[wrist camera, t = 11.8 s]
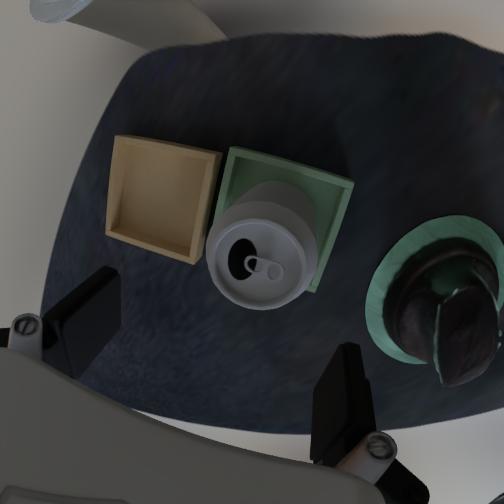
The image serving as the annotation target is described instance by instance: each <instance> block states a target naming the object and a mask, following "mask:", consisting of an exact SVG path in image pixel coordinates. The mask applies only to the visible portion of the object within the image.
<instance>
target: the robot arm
mask: <svg viewBox="0 0 504 504" xmlns="http://www.w3.org/2000/svg"><path fill="white" fill-rule="evenodd" d="M39 1H40V2H41V3H44V4H53V3H56V2H58V1H60V0H39ZM120 326H121V278H120V275H119V274H118V271H117V270H116V269H114V268H111V267H108V266H103V267H102V268H100V269H99V270H98V271H97V272H95V273H94V274H93V275H91V276H90V277H89V278H88V279H86V280H85V281H84V282H83V283H81V284H80V285H79V286H78V287H76V288H75V289H74V290H73V291H71V292H70V293H69V294H68V295H67V296H65V297H64V298H63V299H62V300H61V301H59V302H58V303H57V304H56V305H55V306H53V307H52V308H51V309H50V310H49V311H48V312H46V313H45V314H44V317H43V318H42V319H41V318H40V317H39V316H37V315H35V314H31V313H26V314H22V315H19V316H18V317H16V318H15V319H14V320H13V322H12V324H11V328H0V504H428V502H429V497H430V495H429V490H428V488H427V486H426V485H425V484H424V483H423V482H422V481H420V480H419V479H418V478H417V477H416V476H415V475H413V474H412V473H411V472H410V471H409V470H408V469H407V468H406V467H405V466H403V465H402V464H401V463H400V462H399V461H398V460H397V459H396V458H395V457H396V455H397V445H396V443H395V441H394V439H392V437H391V436H389V435H388V434H386V433H384V432H381V431H376V423H375V415H374V408H373V401H372V394H371V387H370V382H369V380H368V379H367V378H365V373H364V367H363V361H362V355H361V349H360V345H359V344H355V343H350V342H345V343H344V344H340V345H339V346H338V348H337V350H336V351H335V353H334V355H333V357H332V359H331V360H330V362H329V364H328V365H327V367H326V369H325V371H324V372H323V374H322V376H321V377H320V379H319V381H318V382H317V384H316V386H315V388H314V392H313V410H312V430H311V446H310V460H313V464H312V463H307V462H302V461H296V460H291V459H286V458H281V457H276V456H272V455H267V454H263V453H259V452H255V451H251V450H247V449H242V448H239V447H235V446H231V445H228V444H225V443H221V442H218V441H214V440H211V439H208V438H205V437H202V436H199V435H195V434H193V433H190V432H187V431H184V430H182V429H179V428H176V427H173V426H171V425H168V424H166V423H163V422H161V421H158V420H156V419H153V418H151V417H149V416H146V415H144V414H142V413H139V412H137V411H135V410H133V409H130V408H128V407H126V406H124V405H122V404H120V403H118V402H115V401H113V400H111V399H109V398H107V397H105V396H103V395H101V394H99V393H98V392H96V391H94V390H92V389H90V388H88V387H86V386H85V385H83V384H81V383H79V382H77V381H76V380H74V379H75V378H76V379H78V378H79V377H80V376H81V375H82V374H83V372H84V371H85V370H86V369H87V368H88V366H89V365H90V364H91V363H92V361H93V360H94V359H95V358H96V357H97V355H98V354H99V353H100V352H101V350H102V349H103V348H104V347H105V346H106V344H107V343H108V342H109V341H110V340H111V339H112V337H113V336H114V335H115V334H116V333H117V331H118V330H119V329H120Z"/></svg>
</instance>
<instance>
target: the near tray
mask: <svg viewBox="0 0 504 504" xmlns="http://www.w3.org/2000/svg"><path fill="white" fill-rule="evenodd" d="M270 180H277V181H286V182H288V183H291V184H293V185H296V186H297V187H298V188H300V189H301V190H302V191H303V192H304V193H306V194H307V196H308V198H309V199H310V201H311V202H312V204H313V207H314V211H315V216H316V226H317V240H318V262H317V270H316V273H315V275H314V277H313V279H312V281H311V283H310V285H309V286H308V287H307V288H306V289H305V290H307V291H310V292H313V293H315V292H316V289H317V286H318V284H319V281H320V279H321V276H322V274H323V271H324V269H325V266H326V263H327V261H328V258H329V255H330V253H331V250H332V247H333V245H334V242H335V239H336V236H337V234H338V231H339V228H340V225H341V222H342V219H343V216H344V214H345V211H346V208H347V205H348V202H349V199H350V196H351V193H352V189H353V186H354V182H353V181H352V180H351V179H349V178H346V177H343V176H340V175H337V174H334V173H331V172H328V171H325V170H321V169H318V168H315V167H312V166H309V165H305V164H302V163H298V162H295V161H292V160H288V159H285V158H281V157H277V156H274V155H270V154H266V153H262V152H259V151H255V150H251V149H247V148H243V147H238V146H234V147H230V149H229V154H228V157H227V162H226V166H225V170H224V175H223V179H222V184H221V188H220V193H219V197H218V202H217V207H216V211H215V216H214V221H213V225H214V223H215V222H216V221H217V219H218V218H219V217H220V215H221V214H222V213H224V212H225V211H226V210H227V209H228V208H229V207H230V206H231V205H233V204H234V203H235V202H236V201H237V200H238V199H239V198H240V197H242V196H243V195H244V194H245V193H246V192H247V191H249V190H250V189H251V188H253V187H254V186H256V185H258V184H259V183H262V182H266V181H270Z"/></svg>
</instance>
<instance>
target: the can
mask: <svg viewBox="0 0 504 504" xmlns="http://www.w3.org/2000/svg"><path fill="white" fill-rule="evenodd" d="M206 260H207V263H208V269H209V272H210V274H211V277H212V280H213V282H214V284H215V285H216V286H217V288H218V289H219V290H220V292H221V293H222V294H223V295H224V296H226V297H227V298H228V299H230V300H231V301H232V302H233V303H236V304H238V305H241V306H243V307H245V308H249V309H257V310H267V309H274V308H278V307H280V306H282V305H284V304H286V303H288V302H290V301H291V300H292V299H294V298H297V297H298V296H299V295H300V294H301V293H302V292H303V291H304V290H305V289H306V288H307V287H308V286H309V285H310V283H311V281H312V279H313V277H314V275H315V273H316V270H317V262H318V240H317V226H316V216H315V211H314V207H313V204H312V202H311V201H310V199H309V198H308V196H307V194H306V193H304V192H303V191H302V190H301V189H300V188H298V187H297V186H296V185H293V184H291V183H288V182H286V181H277V180H270V181H266V182H262V183H259V184H258V185H256V186H254V187H253V188H251V189H250V190H249V191H247V192H246V193H245V194H244V195H243V196H242V197H240V198H239V199H238V200H237V201H236V202H235V203H234V204H233V205H231V206H230V207H229V208H228V209H227V210H226V211H225V212H224V213H222V214H221V215H220V217H219V218H218V219H217V221H216V222H215V223H214V225H213V226H212V227H211V229H210V232H209V235H208V239H207V242H206Z"/></svg>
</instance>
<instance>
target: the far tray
mask: <svg viewBox="0 0 504 504" xmlns="http://www.w3.org/2000/svg"><path fill="white" fill-rule="evenodd" d="M222 156H223V153H220V152H216V151H211V150H207V149H202V148H198V147H193V146H188V145H184V144H179V143H173V142H168V141H163V140H158V139H152V138H146V137H140V136H134V135H128V134H127V135H115V142H114V148H113V155H112V163H111V171H110V180H109V191H108V203H107V218H106V235H108V236H111V237H113V238H116V239H119V240H122V241H125V242H128V243H131V244H134V245H136V246H139V247H142V248H145V249H148V250H151V251H154V252H157V253H160V254H163V255H166V256H169V257H172V258H175V259H178V260H181V261H184V262H187V263H190V264H193V265H194V264H195V263H196V262H197V261H198V260H199V259H200V257H201V256H202V252H203V247H204V241H205V236H206V231H207V226H208V221H209V216H210V211H211V206H212V201H213V197H214V192H215V187H216V183H217V178H218V174H219V169H220V165H221V160H222Z"/></svg>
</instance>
